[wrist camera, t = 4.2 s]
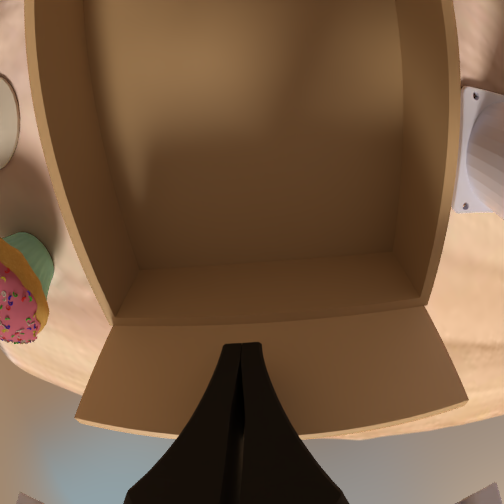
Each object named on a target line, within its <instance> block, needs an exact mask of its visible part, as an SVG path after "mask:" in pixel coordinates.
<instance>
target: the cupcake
mask: <svg viewBox="0 0 504 504" xmlns="http://www.w3.org/2000/svg"><path fill="white" fill-rule="evenodd" d="M53 274H54V266H53V262H52V259H51V256H50V254H49V252H48V251H47V249H46V248H45V246H44V245H43V244H42V243H41V242H40V241H39V240H38V239H37V238H36V237H34V236H33V235H31V234H29V233H26V232H19V233H16V234H13V235H11V236H8V237H5V238H1V237H0V339H1V340H2V341H3V340H4V341H6V342H7V343H9V342H10V341H11V342H12V343H13V342H14V344H16V343H17V344H18V343H20V344H23V343H25V344H28V342H30V343H31V341H33V342H34V341H35V339H37V337H36V335H37V334H38V333H39V332H40V331H41V330H42V329H43V328H44V326H45V325H46V323H47V319H48V316H49V308H48V304H47V294H48V290H49V286H50V283H51V280H52V277H53Z"/></svg>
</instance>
